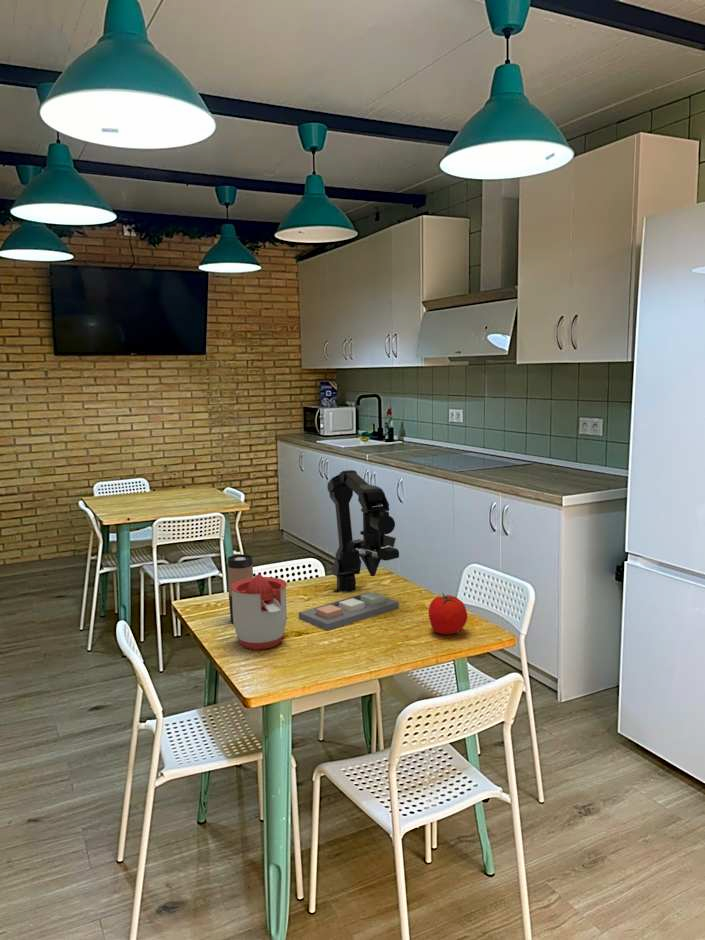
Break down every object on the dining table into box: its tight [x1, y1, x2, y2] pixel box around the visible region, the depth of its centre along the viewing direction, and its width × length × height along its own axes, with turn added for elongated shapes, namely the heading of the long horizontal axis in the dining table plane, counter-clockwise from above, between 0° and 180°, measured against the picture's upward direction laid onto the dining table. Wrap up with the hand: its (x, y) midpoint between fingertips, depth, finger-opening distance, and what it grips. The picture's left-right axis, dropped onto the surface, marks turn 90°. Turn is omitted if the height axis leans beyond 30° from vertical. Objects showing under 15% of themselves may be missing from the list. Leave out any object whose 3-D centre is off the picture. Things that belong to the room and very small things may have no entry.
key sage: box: [361, 591, 387, 606], centre depth 225 cm, size 6×6×2 cm
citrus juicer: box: [231, 573, 288, 651], centre depth 198 cm, size 16×17×20 cm
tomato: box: [428, 592, 468, 635], centre depth 205 cm, size 12×12×11 cm
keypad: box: [298, 591, 400, 632], centre depth 220 cm, size 14×29×3 cm, turn 131°
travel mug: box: [227, 553, 254, 625], centre depth 217 cm, size 8×8×20 cm
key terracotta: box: [316, 605, 342, 620], centre depth 213 cm, size 6×6×2 cm
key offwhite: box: [339, 598, 364, 613], centre depth 219 cm, size 6×6×2 cm
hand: (372, 576), depth 224 cm, fingers closed
